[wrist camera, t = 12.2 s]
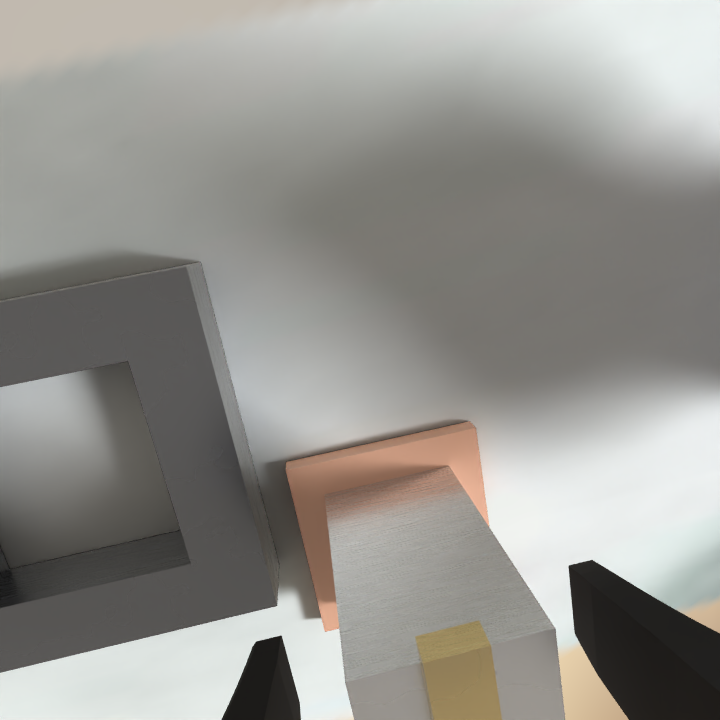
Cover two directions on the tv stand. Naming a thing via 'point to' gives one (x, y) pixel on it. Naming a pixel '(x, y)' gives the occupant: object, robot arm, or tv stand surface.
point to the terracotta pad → (369, 467)
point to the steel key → (435, 608)
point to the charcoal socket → (178, 463)
